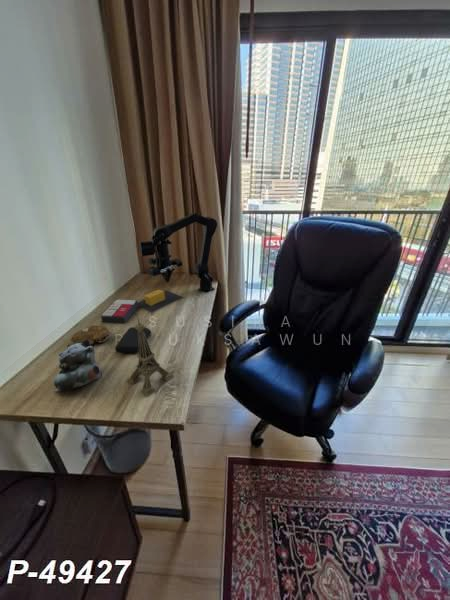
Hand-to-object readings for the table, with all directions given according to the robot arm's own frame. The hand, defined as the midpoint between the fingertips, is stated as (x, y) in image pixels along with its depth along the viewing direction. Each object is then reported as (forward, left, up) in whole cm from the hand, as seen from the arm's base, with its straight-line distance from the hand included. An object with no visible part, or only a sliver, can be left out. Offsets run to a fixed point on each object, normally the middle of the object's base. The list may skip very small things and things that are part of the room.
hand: (167, 282), depth 131 cm
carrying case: (+35, +21, -9) cm, 42 cm away
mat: (+7, 0, -8) cm, 11 cm away
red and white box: (+26, -4, -9) cm, 28 cm away
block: (+4, -1, -6) cm, 7 cm away
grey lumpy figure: (+58, +24, -9) cm, 63 cm away
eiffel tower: (+43, +42, -9) cm, 61 cm away
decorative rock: (+44, +5, -9) cm, 45 cm away
